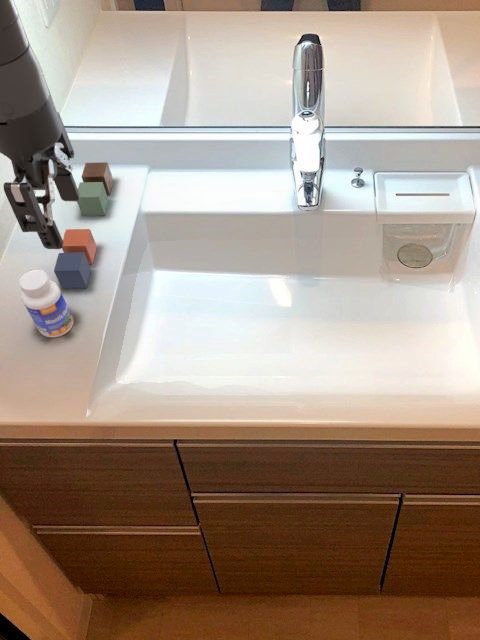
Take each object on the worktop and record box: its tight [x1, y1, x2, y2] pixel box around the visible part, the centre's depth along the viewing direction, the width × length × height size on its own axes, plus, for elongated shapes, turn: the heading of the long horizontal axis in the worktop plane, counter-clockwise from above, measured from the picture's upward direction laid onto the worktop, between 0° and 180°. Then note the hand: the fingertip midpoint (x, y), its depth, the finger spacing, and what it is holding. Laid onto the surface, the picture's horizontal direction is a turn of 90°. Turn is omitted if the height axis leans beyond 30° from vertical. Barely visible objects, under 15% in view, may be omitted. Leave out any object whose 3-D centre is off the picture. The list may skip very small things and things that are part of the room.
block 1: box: [81, 161, 114, 196], centre depth 114 cm, size 4×4×4 cm
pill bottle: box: [18, 269, 74, 338], centre depth 93 cm, size 5×5×10 cm
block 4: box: [53, 252, 92, 290], centre depth 101 cm, size 4×4×4 cm
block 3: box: [61, 228, 98, 265], centre depth 104 cm, size 4×4×4 cm
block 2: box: [76, 181, 109, 217], centre depth 110 cm, size 4×4×4 cm
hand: (63, 222), depth 77 cm, fingers open, 8 cm apart
